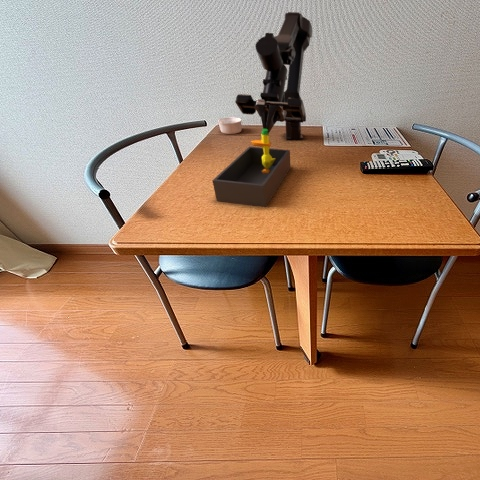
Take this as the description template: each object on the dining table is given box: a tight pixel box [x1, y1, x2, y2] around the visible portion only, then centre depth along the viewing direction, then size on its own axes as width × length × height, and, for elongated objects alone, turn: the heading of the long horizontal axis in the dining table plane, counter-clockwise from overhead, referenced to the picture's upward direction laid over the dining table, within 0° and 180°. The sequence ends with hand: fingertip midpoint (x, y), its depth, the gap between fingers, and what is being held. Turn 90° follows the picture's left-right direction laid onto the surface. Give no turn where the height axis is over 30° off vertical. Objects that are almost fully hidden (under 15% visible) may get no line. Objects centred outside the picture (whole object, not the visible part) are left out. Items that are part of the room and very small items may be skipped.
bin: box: [212, 146, 291, 208], centre depth 76 cm, size 23×12×6 cm, turn 170°
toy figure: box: [250, 128, 276, 173], centre depth 79 cm, size 7×4×12 cm, turn 80°
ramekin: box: [217, 116, 243, 135], centre depth 112 cm, size 9×9×4 cm
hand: (265, 134), depth 80 cm, fingers closed
